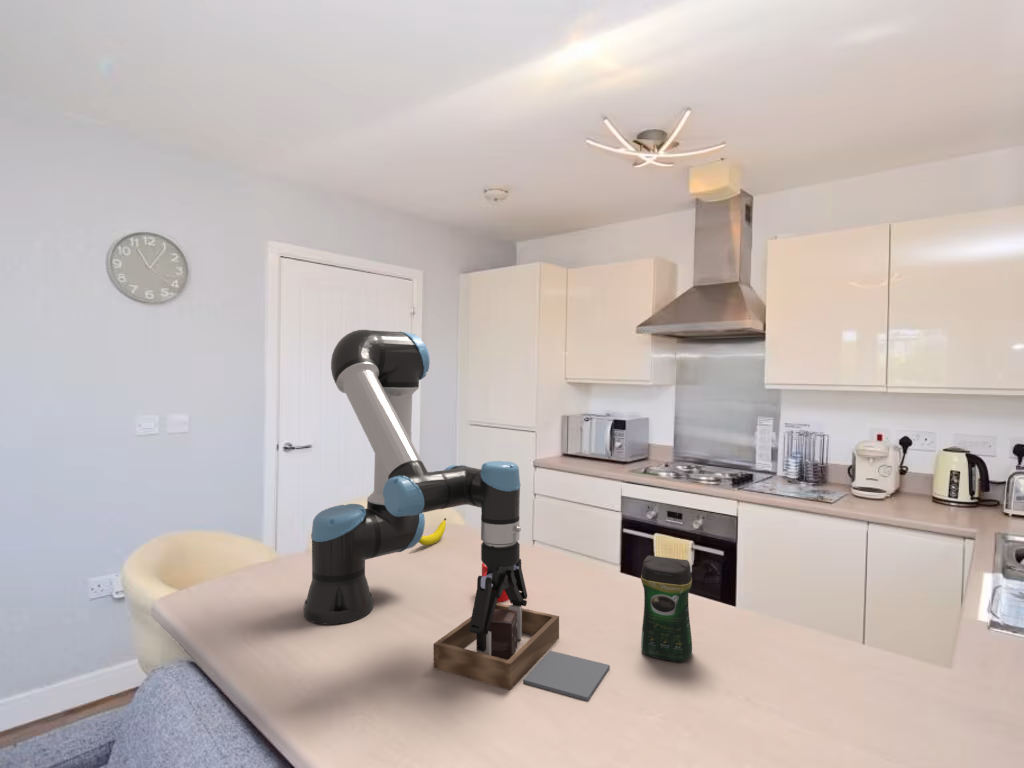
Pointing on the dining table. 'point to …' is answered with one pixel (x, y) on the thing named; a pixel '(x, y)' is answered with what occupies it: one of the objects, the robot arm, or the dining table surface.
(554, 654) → the slate mat
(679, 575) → the coffee jar
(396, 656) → the dining table surface
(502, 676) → the walnut crate
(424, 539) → the banana
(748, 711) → the dining table surface
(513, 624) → the box
